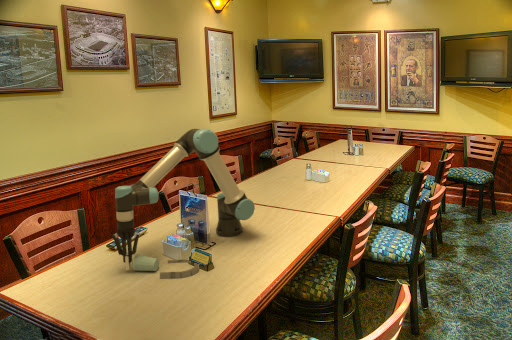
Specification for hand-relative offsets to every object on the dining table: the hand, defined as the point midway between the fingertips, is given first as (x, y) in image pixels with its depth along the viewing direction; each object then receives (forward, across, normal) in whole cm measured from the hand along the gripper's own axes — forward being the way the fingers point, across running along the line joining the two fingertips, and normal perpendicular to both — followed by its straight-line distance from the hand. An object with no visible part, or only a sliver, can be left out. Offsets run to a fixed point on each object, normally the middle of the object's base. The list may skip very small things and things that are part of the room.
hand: (128, 268), depth 207 cm
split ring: (+1, -24, 0) cm, 24 cm away
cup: (+3, -12, 0) cm, 12 cm away
